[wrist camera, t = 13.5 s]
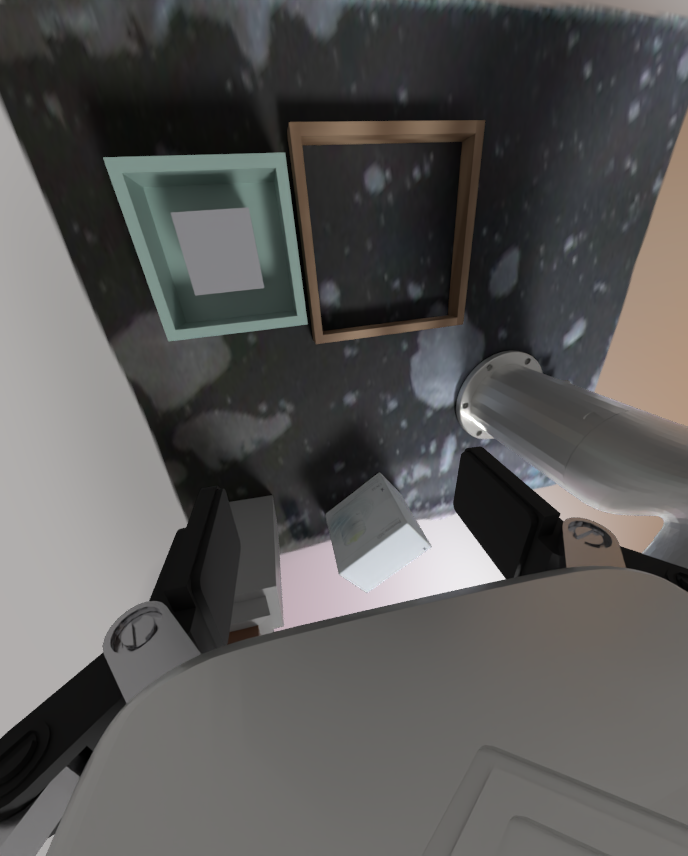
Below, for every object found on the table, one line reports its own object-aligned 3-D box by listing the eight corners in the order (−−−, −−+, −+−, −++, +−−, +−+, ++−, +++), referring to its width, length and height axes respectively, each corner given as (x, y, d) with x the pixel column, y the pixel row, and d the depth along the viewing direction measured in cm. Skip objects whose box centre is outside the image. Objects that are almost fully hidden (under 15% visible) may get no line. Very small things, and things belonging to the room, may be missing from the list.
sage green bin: (281, 172, 25) (285, 152, 21) (301, 316, 31) (307, 324, 27) (132, 178, 23) (102, 157, 19) (182, 330, 29) (168, 341, 25)
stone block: (251, 220, 26) (248, 207, 20) (264, 284, 28) (264, 288, 23) (189, 224, 25) (170, 212, 20) (208, 290, 27) (195, 295, 22)
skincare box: (377, 469, 43) (408, 523, 34) (400, 493, 46) (434, 548, 37) (322, 513, 44) (337, 576, 35) (348, 533, 47) (368, 595, 38)
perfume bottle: (278, 531, 44) (286, 675, 28) (229, 540, 42) (209, 696, 27) (272, 495, 40) (278, 635, 25) (219, 503, 39) (190, 657, 24)
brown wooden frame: (471, 129, 27) (485, 120, 25) (453, 321, 35) (463, 324, 33) (287, 132, 24) (288, 122, 23) (313, 340, 32) (316, 344, 31)
